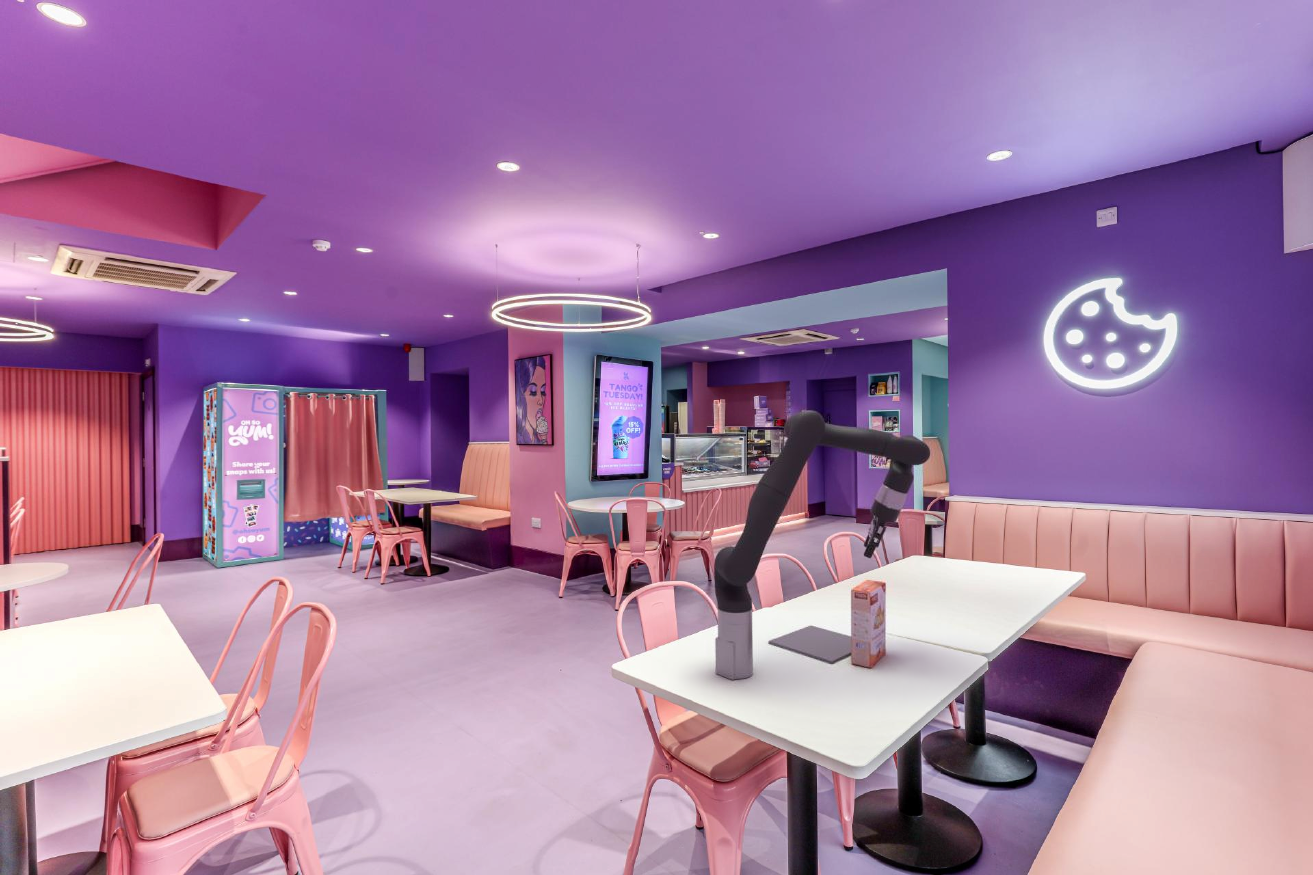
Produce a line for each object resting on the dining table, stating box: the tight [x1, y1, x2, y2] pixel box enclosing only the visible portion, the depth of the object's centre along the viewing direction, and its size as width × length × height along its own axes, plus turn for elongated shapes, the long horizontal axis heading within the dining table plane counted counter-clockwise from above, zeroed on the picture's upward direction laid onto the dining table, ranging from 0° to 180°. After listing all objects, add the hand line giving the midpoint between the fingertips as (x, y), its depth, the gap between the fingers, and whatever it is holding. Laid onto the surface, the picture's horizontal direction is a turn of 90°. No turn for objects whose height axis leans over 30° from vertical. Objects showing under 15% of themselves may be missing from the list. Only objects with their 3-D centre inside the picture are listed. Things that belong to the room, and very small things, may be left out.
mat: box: [767, 625, 851, 665], centre depth 178 cm, size 22×22×1 cm
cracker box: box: [850, 579, 887, 669], centre depth 166 cm, size 14×6×21 cm, turn 143°
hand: (866, 551), depth 172 cm, fingers open, 8 cm apart
